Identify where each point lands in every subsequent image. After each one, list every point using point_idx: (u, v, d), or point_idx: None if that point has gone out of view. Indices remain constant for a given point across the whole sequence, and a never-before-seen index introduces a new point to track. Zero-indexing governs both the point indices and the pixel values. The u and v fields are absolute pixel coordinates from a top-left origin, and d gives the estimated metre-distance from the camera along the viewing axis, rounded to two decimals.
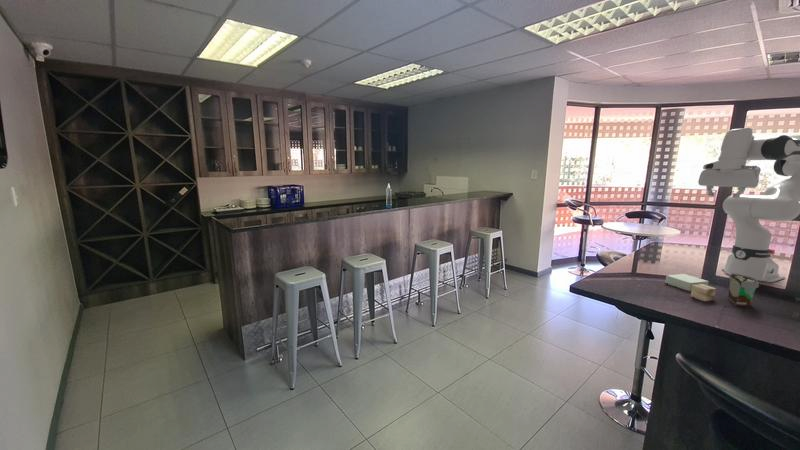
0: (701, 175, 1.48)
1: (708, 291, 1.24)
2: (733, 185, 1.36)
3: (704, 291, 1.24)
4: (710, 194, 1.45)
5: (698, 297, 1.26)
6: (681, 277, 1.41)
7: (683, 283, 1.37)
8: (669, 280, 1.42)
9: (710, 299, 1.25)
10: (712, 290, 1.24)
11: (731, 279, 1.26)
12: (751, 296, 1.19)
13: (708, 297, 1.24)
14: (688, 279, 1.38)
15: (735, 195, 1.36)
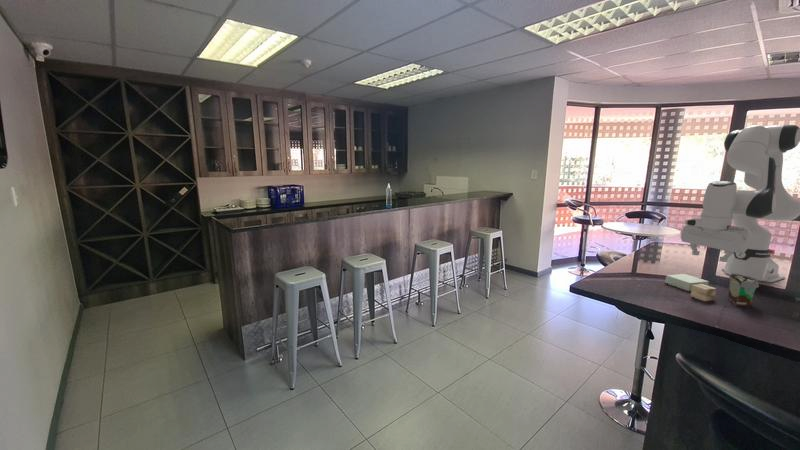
0: (683, 231, 1.31)
1: (708, 291, 1.24)
2: (719, 247, 1.19)
3: (704, 291, 1.24)
4: (695, 253, 1.28)
5: (698, 297, 1.26)
6: (681, 277, 1.41)
7: (682, 283, 1.37)
8: (669, 280, 1.42)
9: (710, 299, 1.25)
10: (712, 290, 1.24)
11: (731, 279, 1.26)
12: (751, 296, 1.19)
13: (708, 297, 1.24)
14: (688, 279, 1.38)
15: (722, 259, 1.19)
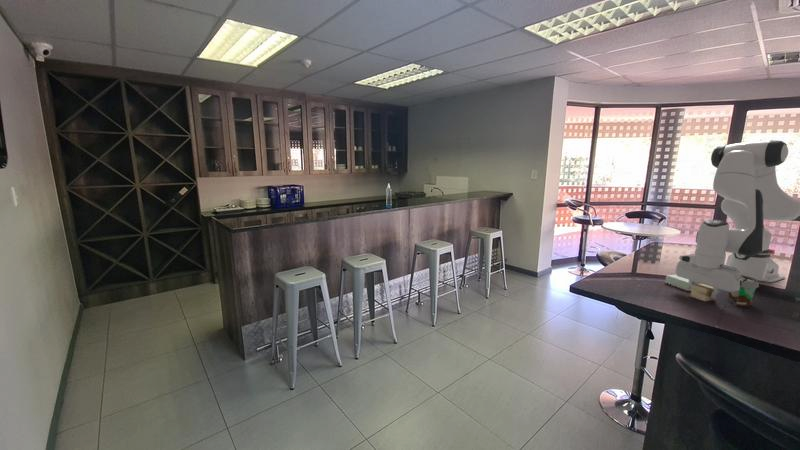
0: (678, 266, 1.33)
1: (708, 291, 1.24)
2: (712, 285, 1.22)
3: (704, 291, 1.24)
4: None
5: (698, 297, 1.26)
6: (681, 277, 1.41)
7: (682, 283, 1.37)
8: (669, 280, 1.42)
9: (710, 299, 1.25)
10: (712, 290, 1.24)
11: None
12: (751, 296, 1.19)
13: (708, 297, 1.24)
14: None
15: (711, 295, 1.23)
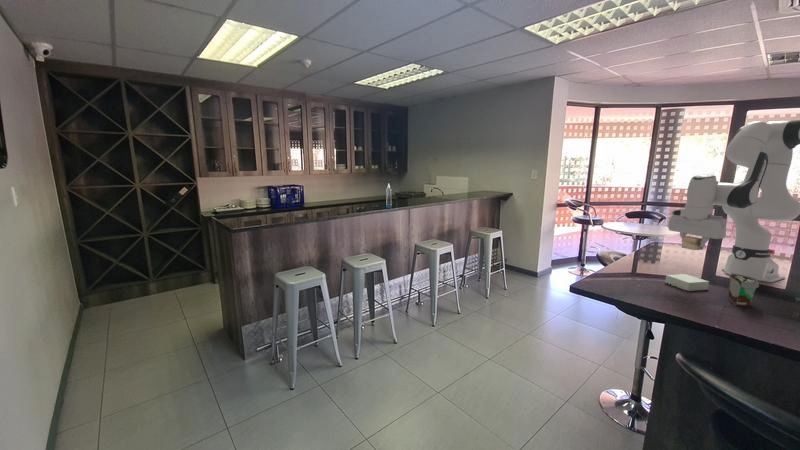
0: (670, 220, 1.43)
1: (697, 240, 1.34)
2: (701, 235, 1.32)
3: (694, 240, 1.34)
4: None
5: (688, 247, 1.36)
6: (681, 277, 1.41)
7: (682, 283, 1.37)
8: (669, 280, 1.43)
9: (699, 248, 1.35)
10: (701, 239, 1.34)
11: (731, 279, 1.26)
12: (751, 296, 1.19)
13: (697, 246, 1.34)
14: (688, 279, 1.38)
15: (700, 244, 1.33)
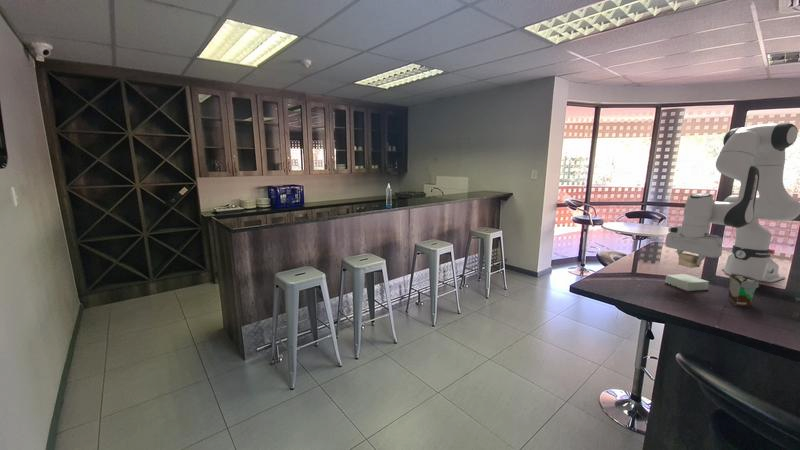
0: (667, 237, 1.45)
1: (694, 258, 1.35)
2: (698, 253, 1.33)
3: (690, 258, 1.35)
4: None
5: (685, 264, 1.38)
6: (681, 277, 1.41)
7: (681, 283, 1.37)
8: (669, 280, 1.43)
9: (696, 266, 1.36)
10: (697, 257, 1.36)
11: (731, 279, 1.26)
12: (751, 296, 1.19)
13: (694, 264, 1.36)
14: (688, 279, 1.38)
15: (696, 262, 1.35)
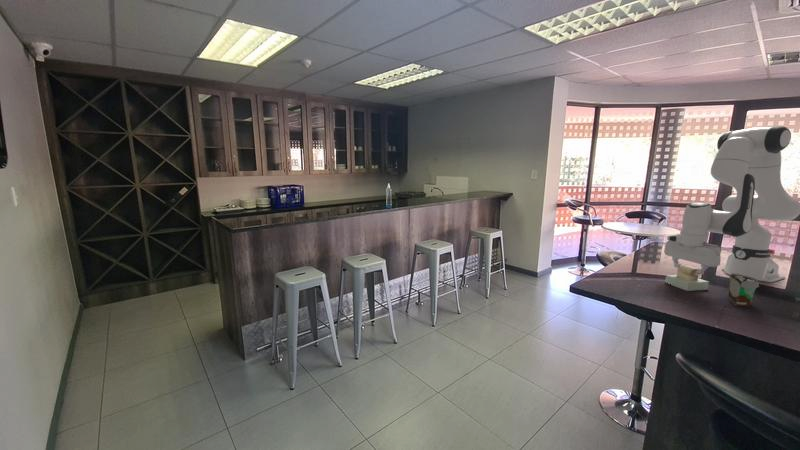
0: (666, 245, 1.46)
1: (692, 271, 1.36)
2: (696, 262, 1.34)
3: (689, 271, 1.36)
4: (676, 266, 1.43)
5: (683, 277, 1.39)
6: None
7: (681, 283, 1.37)
8: (669, 280, 1.43)
9: (694, 278, 1.37)
10: (696, 270, 1.37)
11: (731, 279, 1.26)
12: (751, 296, 1.19)
13: (692, 277, 1.37)
14: None
15: (699, 272, 1.34)
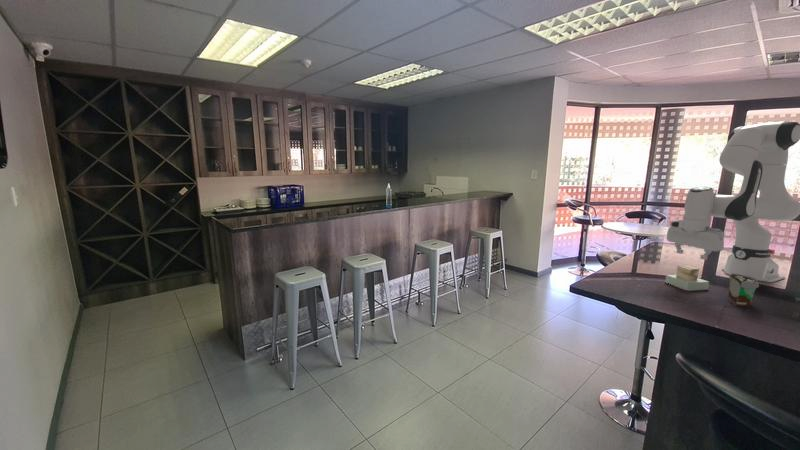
0: (668, 232, 1.44)
1: (691, 271, 1.36)
2: (699, 247, 1.33)
3: (688, 271, 1.37)
4: (679, 252, 1.42)
5: (683, 277, 1.39)
6: None
7: (681, 283, 1.37)
8: (669, 280, 1.43)
9: (693, 278, 1.37)
10: (695, 270, 1.37)
11: (731, 279, 1.26)
12: (751, 296, 1.19)
13: (691, 277, 1.37)
14: None
15: (702, 257, 1.33)
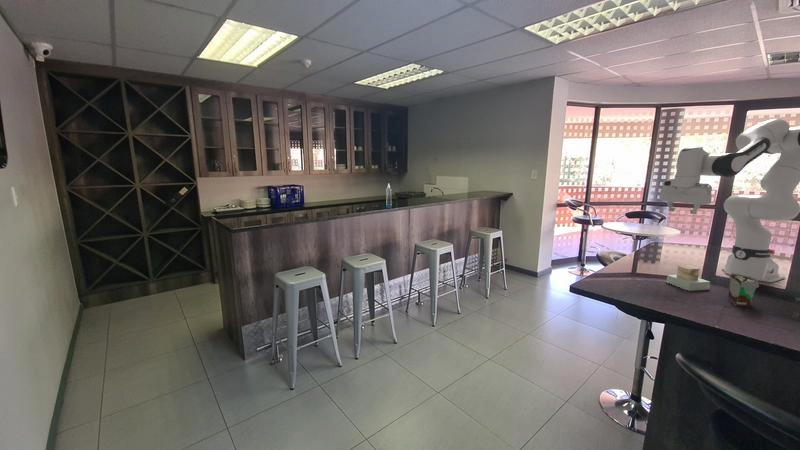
0: (661, 191, 1.55)
1: (691, 271, 1.37)
2: (689, 202, 1.43)
3: (688, 271, 1.37)
4: (670, 209, 1.52)
5: (683, 276, 1.39)
6: None
7: (682, 283, 1.37)
8: (670, 280, 1.43)
9: (694, 278, 1.38)
10: (696, 270, 1.37)
11: (731, 279, 1.26)
12: (751, 296, 1.19)
13: (692, 277, 1.37)
14: None
15: (692, 211, 1.43)
